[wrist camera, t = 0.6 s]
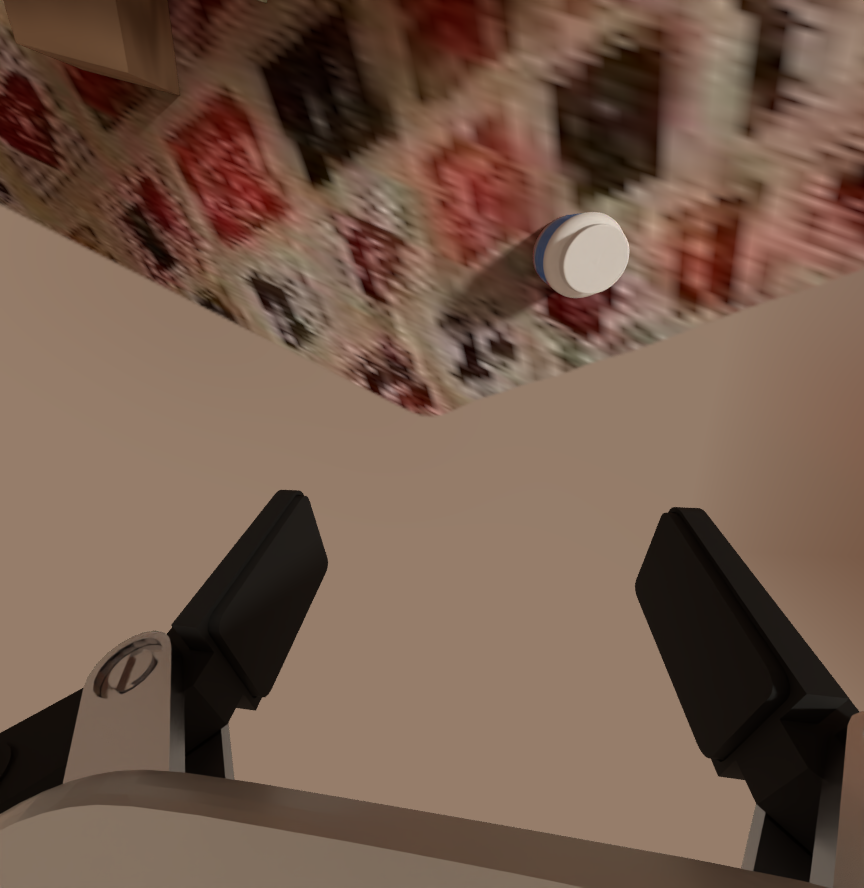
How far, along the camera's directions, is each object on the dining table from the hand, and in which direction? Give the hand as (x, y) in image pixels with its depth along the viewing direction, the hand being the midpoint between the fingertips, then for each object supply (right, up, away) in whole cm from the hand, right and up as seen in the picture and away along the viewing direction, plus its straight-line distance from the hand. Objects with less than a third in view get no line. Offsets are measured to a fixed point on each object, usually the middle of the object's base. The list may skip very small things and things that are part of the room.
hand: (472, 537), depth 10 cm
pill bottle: (+10, +19, +21) cm, 30 cm away
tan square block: (-25, +35, +17) cm, 46 cm away
